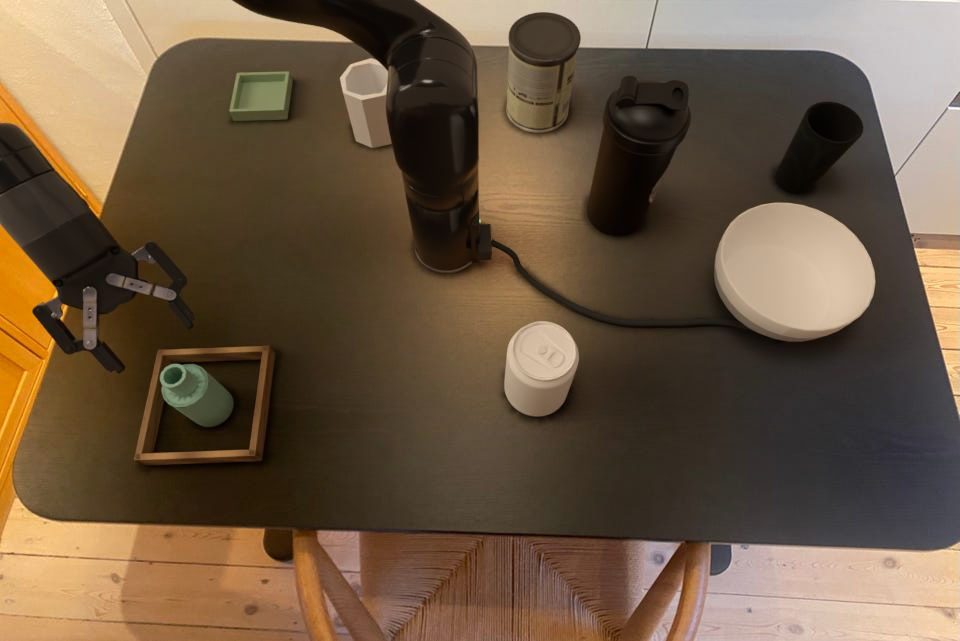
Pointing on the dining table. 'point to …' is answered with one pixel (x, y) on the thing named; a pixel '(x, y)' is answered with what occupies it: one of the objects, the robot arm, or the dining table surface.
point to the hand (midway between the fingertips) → (157, 348)
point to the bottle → (196, 394)
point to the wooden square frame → (156, 403)
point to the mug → (367, 101)
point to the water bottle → (636, 151)
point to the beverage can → (540, 368)
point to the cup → (817, 145)
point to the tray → (261, 96)
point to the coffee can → (541, 70)
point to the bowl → (792, 272)
